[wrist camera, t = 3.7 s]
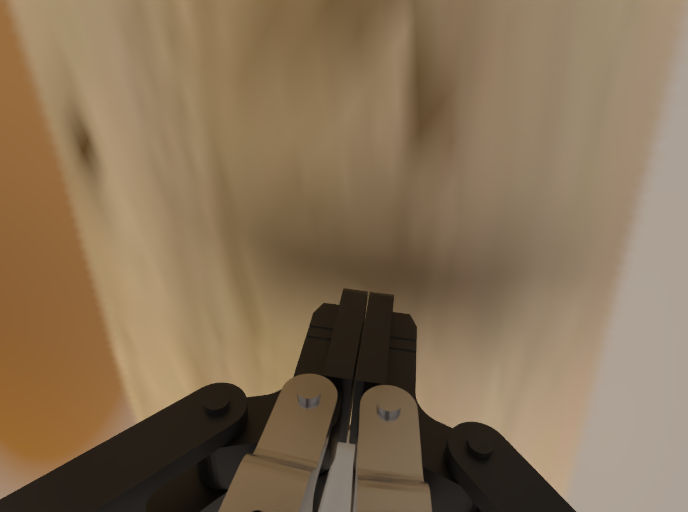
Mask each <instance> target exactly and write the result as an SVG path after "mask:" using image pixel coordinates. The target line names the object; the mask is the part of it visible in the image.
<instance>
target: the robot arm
mask: <svg viewBox="0 0 688 512" xmlns="http://www.w3.org/2000/svg"><path fill="white" fill-rule="evenodd" d="M367 296H368V292H367V291H359V290H352V289H343V293H342V297H341V301H340V305H336V304H328V303H323V304H322V305H321V306H320V307H319V308H318V309H317V310H316V311H315V312H314V313H313V316H312V319H311V322H310V326H309V329H308V332H307V335H306V338H305V342H304V345H303V348H302V351H301V354H300V358H299V361H298V364H297V367H296V370H295V374H294V376H293V378H291V379H290V380H288V381H287V382H286V383H285V384H284V386H283V388H282V389H281V390H279V391H277V392H275V393H272V394H269V395H263V396H254V397H246V395H245V393H244V392H243V391H242V390H241V389H240V388H239V387H237V386H235V385H233V384H229V383H214V384H210V385H207V386H205V387H203V388H201V389H199V390H197V391H195V392H193V393H192V394H190V395H188V396H186V397H184V398H183V399H181V400H179V401H177V402H175V403H174V404H172V405H170V406H168V407H166V408H165V409H163V410H161V411H159V412H157V413H156V414H154V415H152V416H150V417H148V418H147V419H145V420H143V421H141V422H139V423H138V424H136V425H134V426H132V427H130V428H129V429H127V430H125V431H123V432H121V433H119V434H118V435H116V436H114V437H112V438H111V439H109V440H107V441H105V442H103V443H101V444H100V445H98V446H96V447H94V448H92V449H91V450H89V451H87V452H85V453H83V454H82V455H80V456H78V457H76V458H74V459H73V460H71V461H69V462H67V463H65V464H64V465H62V466H60V467H58V468H56V469H55V470H53V471H51V472H49V473H47V474H46V475H44V476H42V477H40V478H38V479H37V480H35V481H33V482H31V483H29V484H27V485H26V486H24V487H22V488H20V489H19V490H17V491H15V492H13V493H11V494H9V495H8V496H6V497H4V498H2V499H0V512H321V508H322V505H323V501H324V497H325V493H326V490H327V486H328V482H329V478H330V475H331V471H332V464H333V462H334V460H335V456H336V451H337V445H338V442H342V443H346V442H347V436H348V429H349V423H350V417H351V411H352V417H351V427H350V437H349V444H355V453H354V462H353V470H352V484H351V502H350V512H576V511H575V510H574V509H573V508H572V507H571V506H570V505H569V504H568V503H567V502H566V501H565V500H564V499H563V498H562V497H561V496H560V495H559V494H558V493H557V492H556V491H555V490H554V489H553V487H552V486H551V485H550V484H549V483H548V482H547V481H546V480H545V479H544V478H543V477H542V476H541V475H540V474H539V473H538V472H537V471H536V470H535V469H534V468H533V467H532V466H531V465H530V464H529V463H528V462H527V461H526V460H525V459H524V458H523V457H522V456H521V455H520V454H519V453H518V452H517V451H516V449H515V448H514V447H513V446H512V445H511V444H510V443H509V442H508V441H507V440H506V439H505V438H504V437H503V436H502V435H501V434H500V433H499V432H497V431H496V430H495V429H493V428H491V427H489V426H487V425H485V424H482V423H478V422H465V423H461V424H459V425H457V426H455V427H454V428H451V427H449V426H446V425H444V424H442V423H440V422H438V421H436V420H434V419H432V418H431V417H429V416H428V415H427V414H426V413H425V412H424V411H423V410H422V409H421V407H420V406H419V404H418V402H417V399H416V395H415V384H416V338H417V327H416V325H415V323H414V321H413V319H412V318H411V316H410V314H403V313H396V312H392V311H393V300H394V295H390V294H383V293H375V292H370V294H369V300H368V306H367V312H366V305H367ZM365 315H366V318H365ZM352 405H353V408H352Z"/></svg>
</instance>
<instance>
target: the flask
mask: <svg viewBox="0 0 688 512" xmlns="http://www.w3.org/2000/svg"><path fill="white" fill-rule="evenodd" d="M349 437H350V430H348V436H347V442H346V443H342V442H338V445H337V451H336V456H335V460H334V462H333V464H332V471H331V475H330V478H329V482H328V486H327V490H326V493H325V497H324V501H323V505H322V508H321V512H350V502H351V484H352V470H353V462H354V453H355V444H349Z"/></svg>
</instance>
